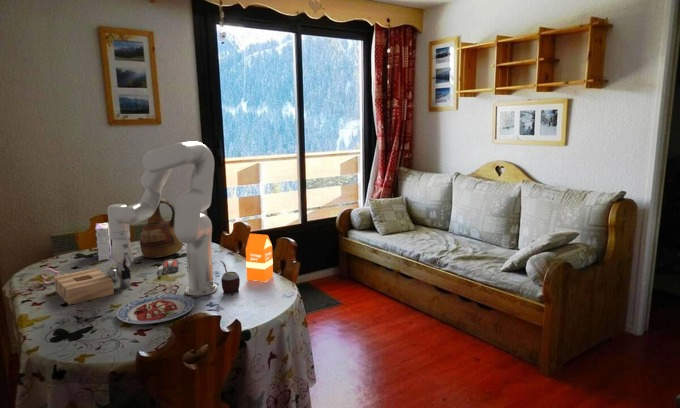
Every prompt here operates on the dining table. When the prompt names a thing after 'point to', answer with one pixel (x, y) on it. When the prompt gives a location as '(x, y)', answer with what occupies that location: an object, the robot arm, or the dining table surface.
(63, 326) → the dining table surface
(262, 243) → the orange juice
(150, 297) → the ceramic plate
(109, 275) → the short pin
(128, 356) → the dining table surface
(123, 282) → the tall pin
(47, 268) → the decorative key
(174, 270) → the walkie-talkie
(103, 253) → the candy box
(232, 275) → the mate gourd
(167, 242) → the ceramic pitcher
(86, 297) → the hole block
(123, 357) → the dining table surface
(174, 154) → the robot arm
